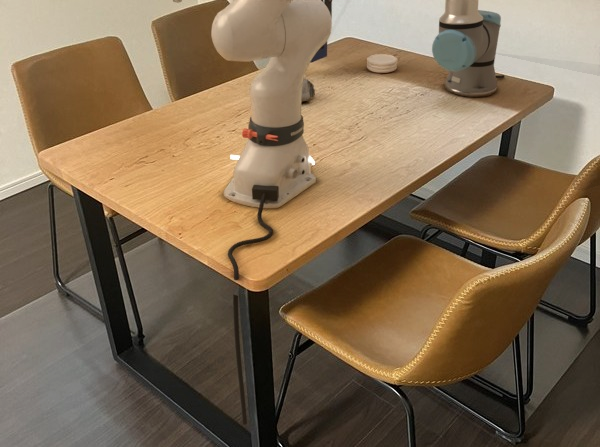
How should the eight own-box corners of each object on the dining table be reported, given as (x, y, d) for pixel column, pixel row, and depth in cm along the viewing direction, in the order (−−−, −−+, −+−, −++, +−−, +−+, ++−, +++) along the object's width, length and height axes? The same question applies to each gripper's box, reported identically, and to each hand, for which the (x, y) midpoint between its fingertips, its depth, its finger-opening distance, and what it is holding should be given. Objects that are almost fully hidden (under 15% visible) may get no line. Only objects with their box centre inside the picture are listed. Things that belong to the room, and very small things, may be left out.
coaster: (364, 64, 210) (364, 54, 208) (392, 63, 211) (393, 52, 209) (369, 74, 202) (370, 63, 200) (399, 72, 203) (400, 62, 201)
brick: (327, 56, 203) (327, 22, 197) (311, 62, 197) (311, 27, 191) (314, 53, 205) (315, 19, 199) (298, 59, 200) (298, 25, 194)
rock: (319, 98, 184) (319, 74, 180) (294, 107, 178) (293, 83, 175) (285, 87, 193) (284, 64, 190) (261, 95, 187) (259, 72, 184)
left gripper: (197, -60, 142) (203, 2, 150) (140, -67, 153) (148, -9, 160) (176, -57, 138) (183, 7, 145) (119, -64, 149) (128, -4, 156)
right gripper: (345, -28, 185) (343, 49, 197) (298, -35, 194) (298, 39, 207) (330, -24, 180) (329, 55, 192) (282, -31, 189) (284, 45, 202)
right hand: (313, 47), depth 200 cm, fingers closed on brick, 5 cm apart
